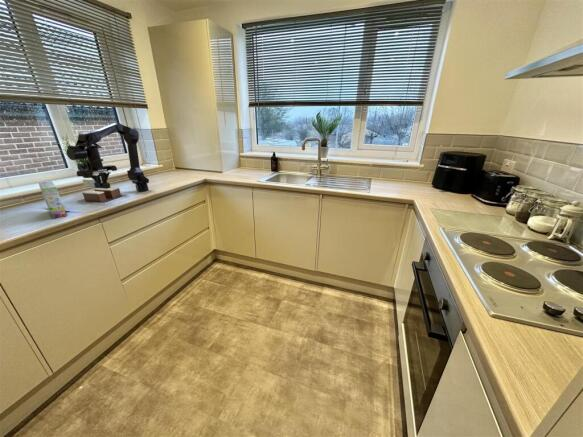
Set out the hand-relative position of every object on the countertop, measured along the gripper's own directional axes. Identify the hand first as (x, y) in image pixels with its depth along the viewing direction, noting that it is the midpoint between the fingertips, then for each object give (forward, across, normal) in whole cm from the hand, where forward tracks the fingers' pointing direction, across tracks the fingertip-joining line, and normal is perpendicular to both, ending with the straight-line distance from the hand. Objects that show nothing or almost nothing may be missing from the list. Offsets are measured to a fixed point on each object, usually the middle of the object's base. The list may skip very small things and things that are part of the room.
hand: (102, 186), depth 133 cm
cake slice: (+9, -1, -10) cm, 14 cm away
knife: (+1, 0, -5) cm, 5 cm away
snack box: (+10, +17, -13) cm, 24 cm away
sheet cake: (+9, -10, -10) cm, 17 cm away
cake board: (+10, -6, -10) cm, 15 cm away
